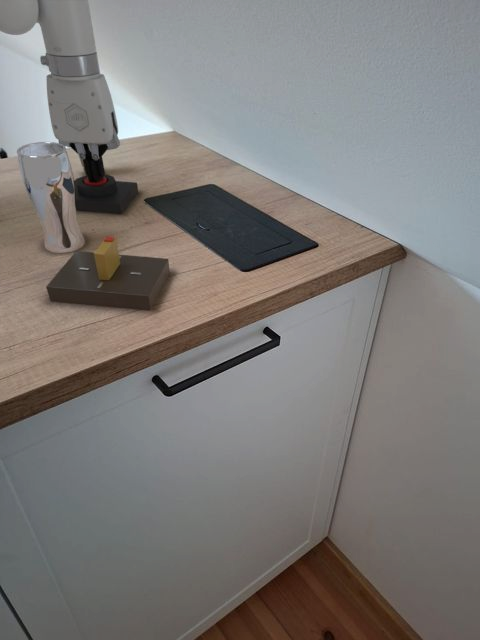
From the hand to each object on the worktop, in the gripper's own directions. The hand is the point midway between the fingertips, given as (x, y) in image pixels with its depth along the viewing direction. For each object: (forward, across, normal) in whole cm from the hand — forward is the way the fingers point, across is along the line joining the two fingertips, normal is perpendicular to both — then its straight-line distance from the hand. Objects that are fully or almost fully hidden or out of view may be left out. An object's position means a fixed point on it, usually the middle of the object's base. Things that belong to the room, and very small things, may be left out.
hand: (96, 179), depth 90 cm
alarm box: (+4, 0, 0) cm, 4 cm away
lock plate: (+4, +12, -28) cm, 31 cm away
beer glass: (+4, +1, -17) cm, 18 cm away
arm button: (+2, 0, 0) cm, 2 cm away
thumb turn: (+2, +12, -28) cm, 31 cm away
